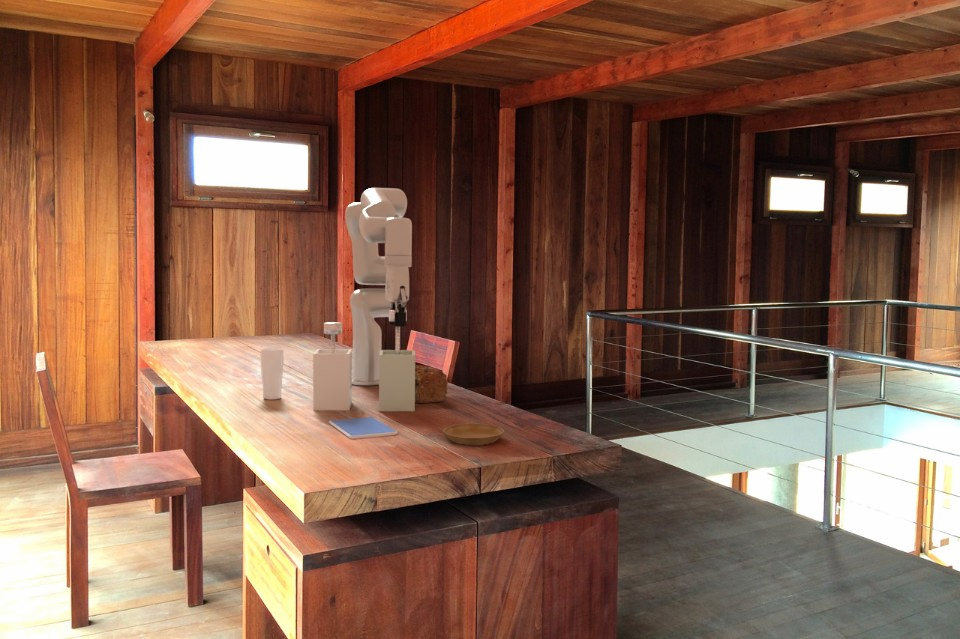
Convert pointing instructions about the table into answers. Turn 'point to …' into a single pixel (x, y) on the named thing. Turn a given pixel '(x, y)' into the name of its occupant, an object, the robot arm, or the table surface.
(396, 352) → the silver rod piece
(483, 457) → the table surface
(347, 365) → the press white
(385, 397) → the press sage
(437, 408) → the table surface
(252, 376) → the table surface
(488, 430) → the plant saucer
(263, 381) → the drinking glass
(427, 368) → the bread
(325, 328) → the plunger white
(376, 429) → the tablet computer
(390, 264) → the robot arm
